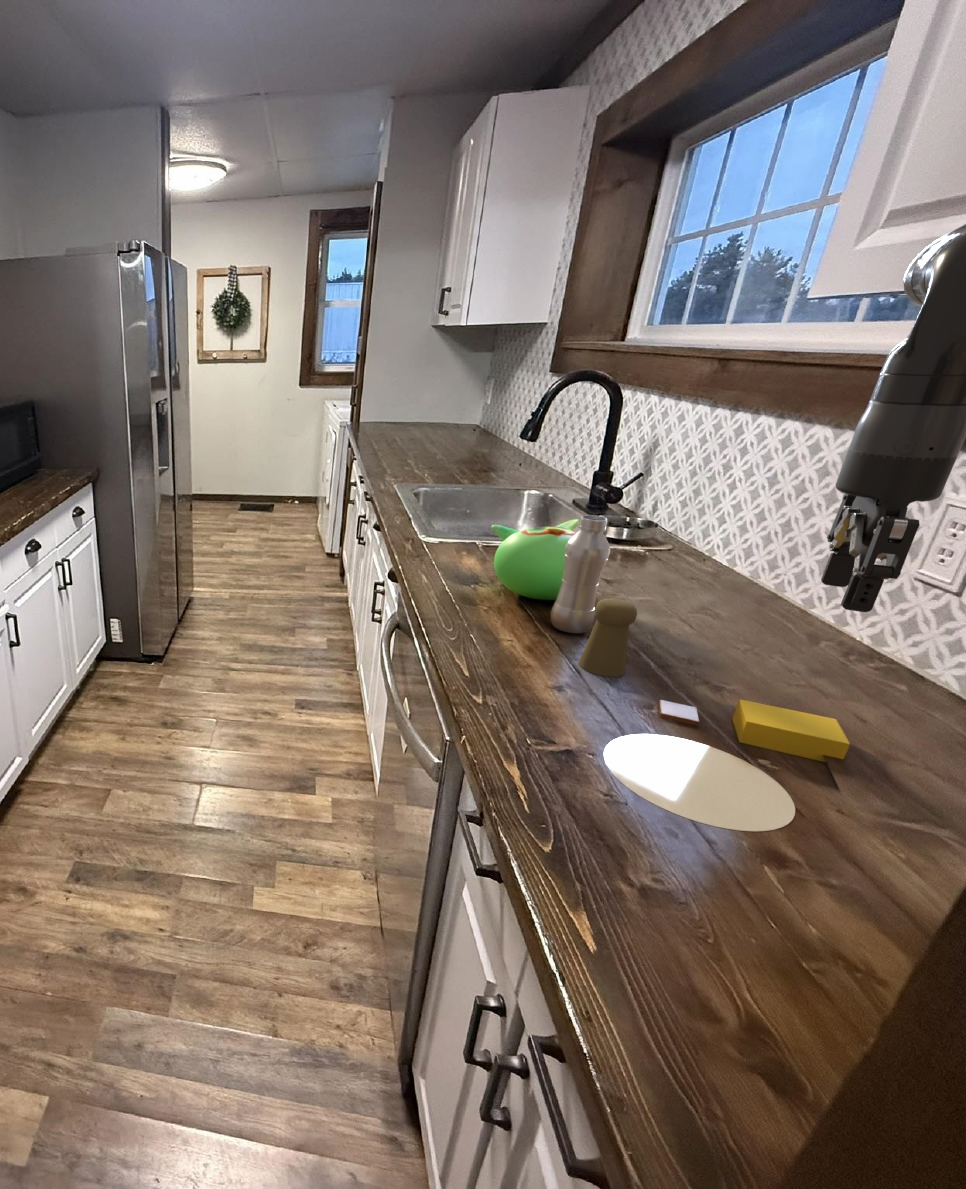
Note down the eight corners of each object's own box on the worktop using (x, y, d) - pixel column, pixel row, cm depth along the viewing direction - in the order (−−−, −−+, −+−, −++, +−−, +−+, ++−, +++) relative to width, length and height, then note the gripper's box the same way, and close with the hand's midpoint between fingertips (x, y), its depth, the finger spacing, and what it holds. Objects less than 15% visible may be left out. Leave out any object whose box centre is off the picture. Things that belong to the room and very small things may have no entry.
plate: (799, 764, 74) (802, 757, 74) (853, 892, 57) (857, 883, 57) (581, 712, 86) (583, 705, 85) (572, 806, 69) (574, 799, 68)
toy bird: (502, 610, 118) (515, 534, 113) (478, 579, 134) (489, 511, 128) (607, 614, 115) (627, 537, 110) (571, 582, 131) (586, 513, 125)
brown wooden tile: (693, 717, 84) (696, 707, 83) (696, 732, 81) (699, 721, 80) (656, 709, 86) (659, 699, 85) (657, 723, 83) (661, 713, 82)
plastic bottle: (542, 630, 110) (565, 518, 102) (554, 618, 114) (577, 510, 107) (584, 641, 105) (612, 525, 98) (595, 628, 110) (622, 517, 102)
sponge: (824, 746, 77) (836, 719, 76) (837, 773, 73) (850, 744, 71) (729, 725, 82) (739, 698, 81) (736, 749, 77) (746, 721, 76)
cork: (588, 675, 95) (605, 608, 91) (572, 657, 100) (586, 593, 96) (633, 678, 94) (651, 610, 90) (613, 659, 99) (630, 594, 95)
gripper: (990, 462, 56) (915, 627, 62) (929, 441, 67) (871, 583, 73) (872, 456, 60) (812, 612, 66) (832, 437, 71) (785, 572, 77)
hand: (843, 596), depth 70 cm, fingers open, 8 cm apart
